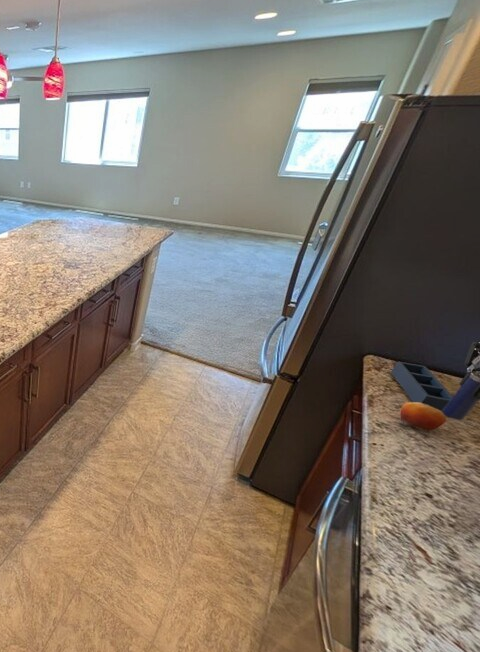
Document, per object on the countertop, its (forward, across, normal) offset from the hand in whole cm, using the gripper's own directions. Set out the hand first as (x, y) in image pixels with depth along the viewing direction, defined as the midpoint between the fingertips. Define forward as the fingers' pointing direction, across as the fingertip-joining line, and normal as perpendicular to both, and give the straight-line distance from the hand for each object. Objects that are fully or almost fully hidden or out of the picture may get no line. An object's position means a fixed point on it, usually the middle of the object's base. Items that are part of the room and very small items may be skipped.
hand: (471, 391), depth 90 cm
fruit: (+19, +10, -2) cm, 22 cm away
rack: (+19, +28, -9) cm, 35 cm away
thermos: (+7, 0, 0) cm, 7 cm away
